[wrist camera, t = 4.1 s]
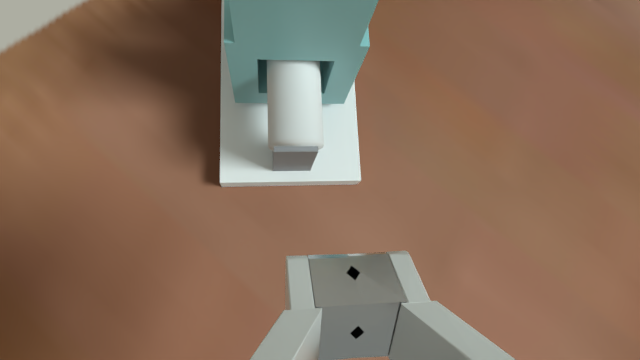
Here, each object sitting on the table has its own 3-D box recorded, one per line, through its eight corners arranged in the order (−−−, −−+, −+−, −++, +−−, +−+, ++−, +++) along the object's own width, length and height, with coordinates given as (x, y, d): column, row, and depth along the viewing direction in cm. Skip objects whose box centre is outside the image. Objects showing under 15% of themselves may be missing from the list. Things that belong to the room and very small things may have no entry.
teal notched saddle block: (235, 45, 27) (202, -188, 13) (340, 48, 28) (410, -167, 14) (235, 102, 26) (200, -85, 12) (343, 103, 27) (421, -70, 13)
